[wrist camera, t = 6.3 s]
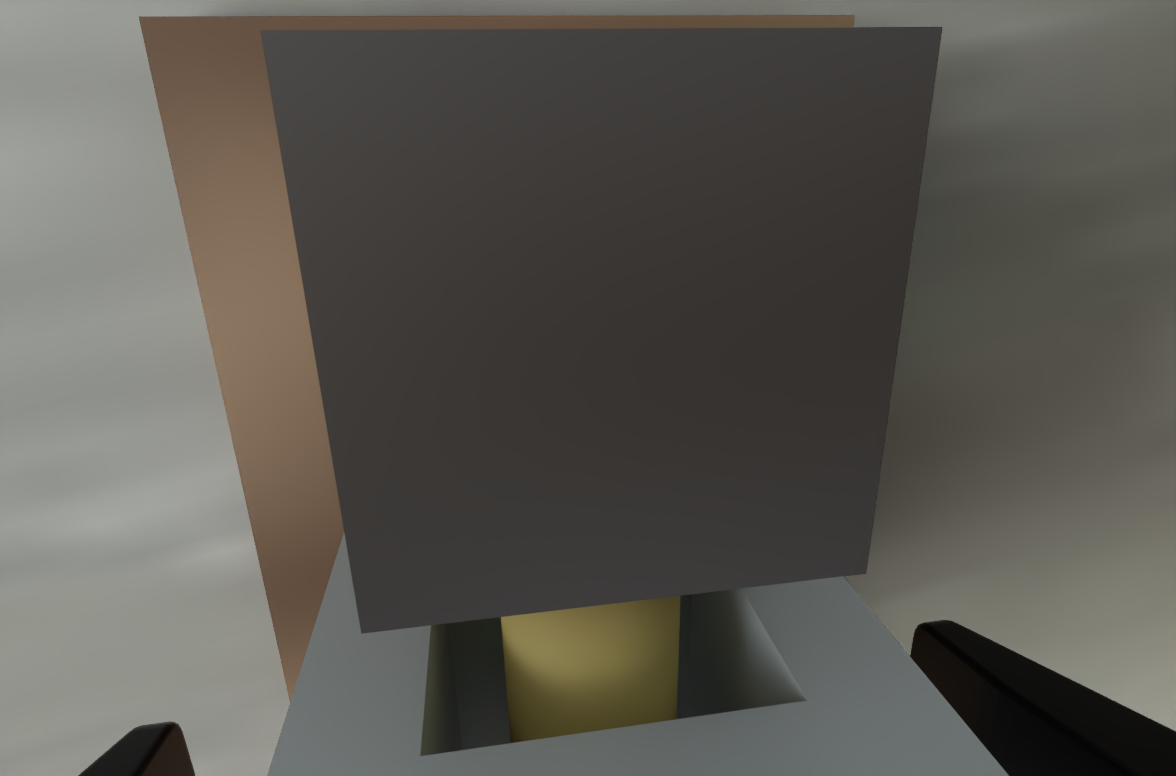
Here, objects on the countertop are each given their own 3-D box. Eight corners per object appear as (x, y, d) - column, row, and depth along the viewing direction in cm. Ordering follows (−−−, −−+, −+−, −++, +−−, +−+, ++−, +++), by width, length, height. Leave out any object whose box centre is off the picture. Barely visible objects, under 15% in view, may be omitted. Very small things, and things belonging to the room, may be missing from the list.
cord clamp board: (746, 859, 17) (941, 1381, 10) (361, 925, 16) (272, 1578, 9) (814, 26, 11) (1496, -175, 4) (178, 30, 9) (-719, -269, 2)
